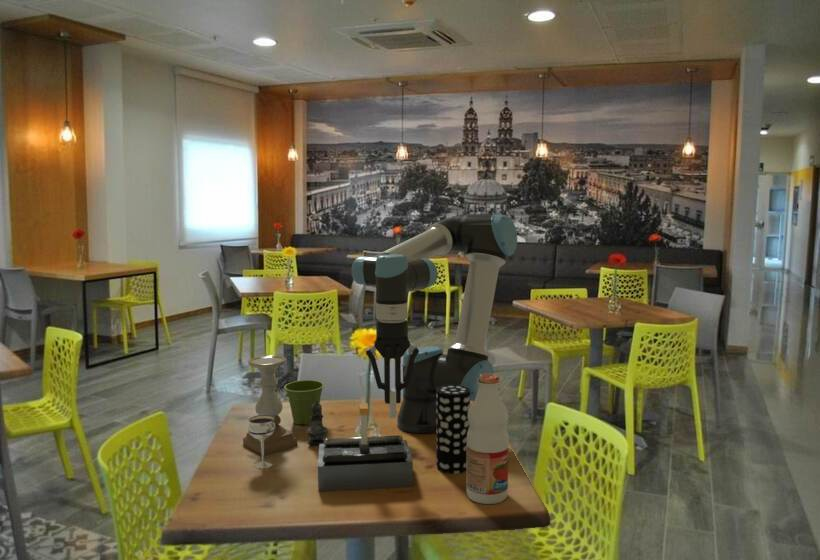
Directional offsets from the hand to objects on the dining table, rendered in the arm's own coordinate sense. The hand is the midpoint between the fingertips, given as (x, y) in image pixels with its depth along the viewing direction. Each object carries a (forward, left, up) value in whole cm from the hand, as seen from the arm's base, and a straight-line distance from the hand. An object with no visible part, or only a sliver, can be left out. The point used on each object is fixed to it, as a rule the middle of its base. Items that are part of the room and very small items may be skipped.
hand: (392, 415), depth 161 cm
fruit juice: (-7, +23, -15) cm, 29 cm away
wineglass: (+18, -29, -15) cm, 37 cm away
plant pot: (-9, -47, -15) cm, 50 cm away
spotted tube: (-14, +7, -15) cm, 22 cm away
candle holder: (+9, -39, -15) cm, 42 cm away
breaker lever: (+5, -4, -9) cm, 11 cm away
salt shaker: (-1, -31, -15) cm, 34 cm away
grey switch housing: (+5, -5, -15) cm, 16 cm away
